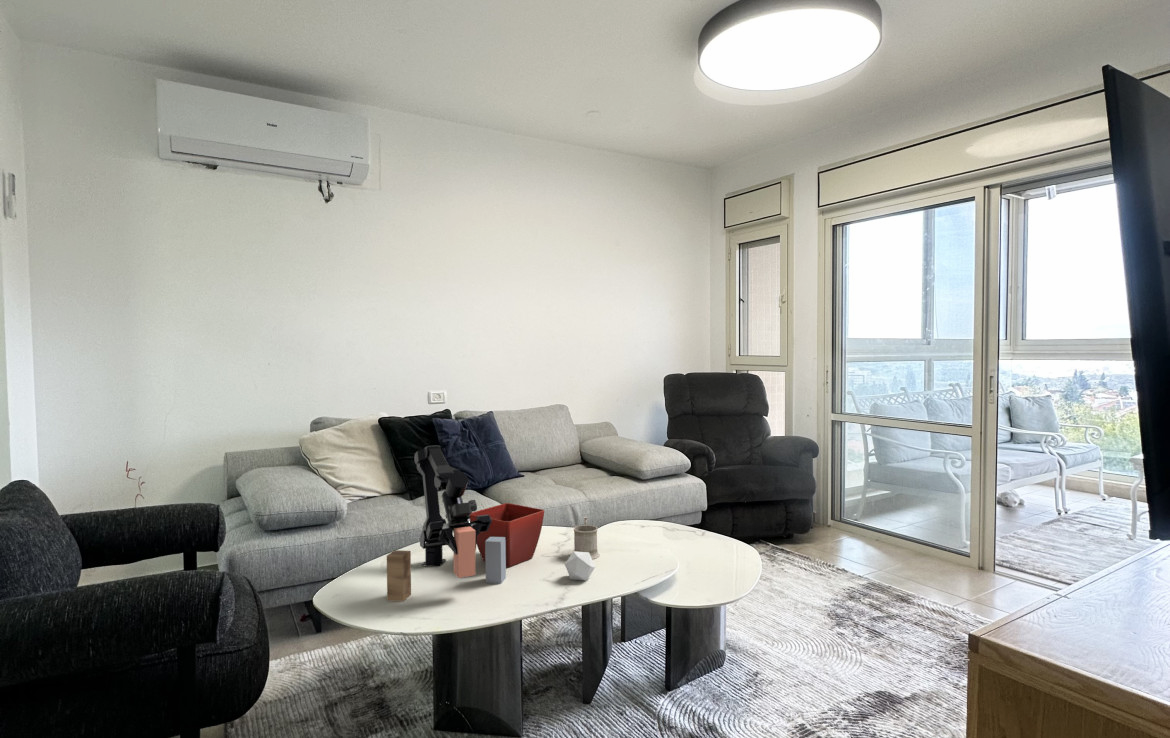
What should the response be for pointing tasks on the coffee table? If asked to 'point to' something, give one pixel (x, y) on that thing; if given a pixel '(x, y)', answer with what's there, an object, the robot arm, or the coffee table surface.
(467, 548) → the salmon block
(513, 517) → the plant pot
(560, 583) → the coffee table surface
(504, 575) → the slate pillar
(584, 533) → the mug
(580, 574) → the die
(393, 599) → the walnut pillar
